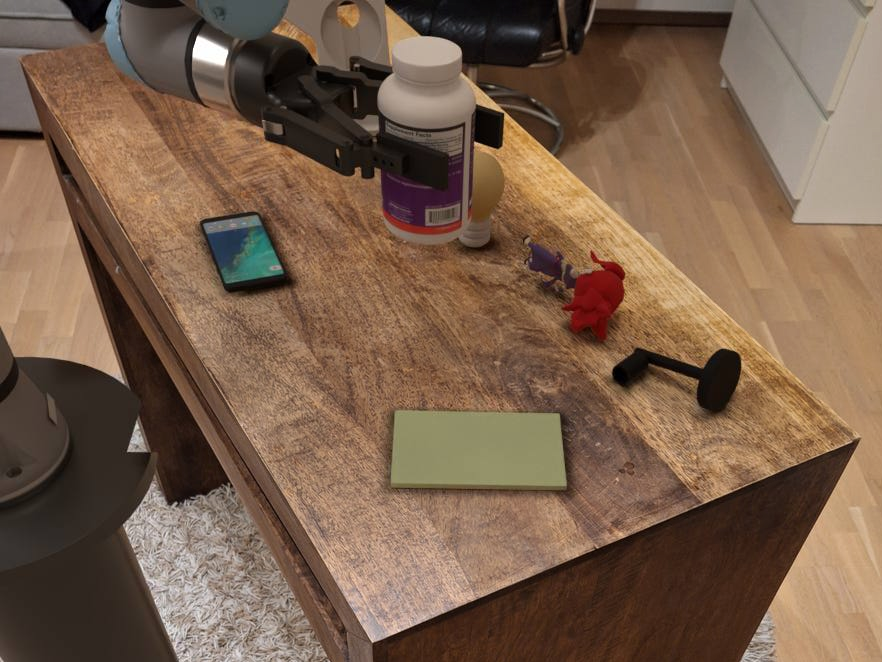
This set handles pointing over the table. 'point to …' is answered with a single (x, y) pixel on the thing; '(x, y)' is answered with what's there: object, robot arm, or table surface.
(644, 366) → the light fixture
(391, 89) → the pill bottle
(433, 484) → the mat
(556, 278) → the figurine
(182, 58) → the robot arm
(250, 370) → the table surface
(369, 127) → the phone holder
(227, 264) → the smartphone
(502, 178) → the light bulb
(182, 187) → the table surface
